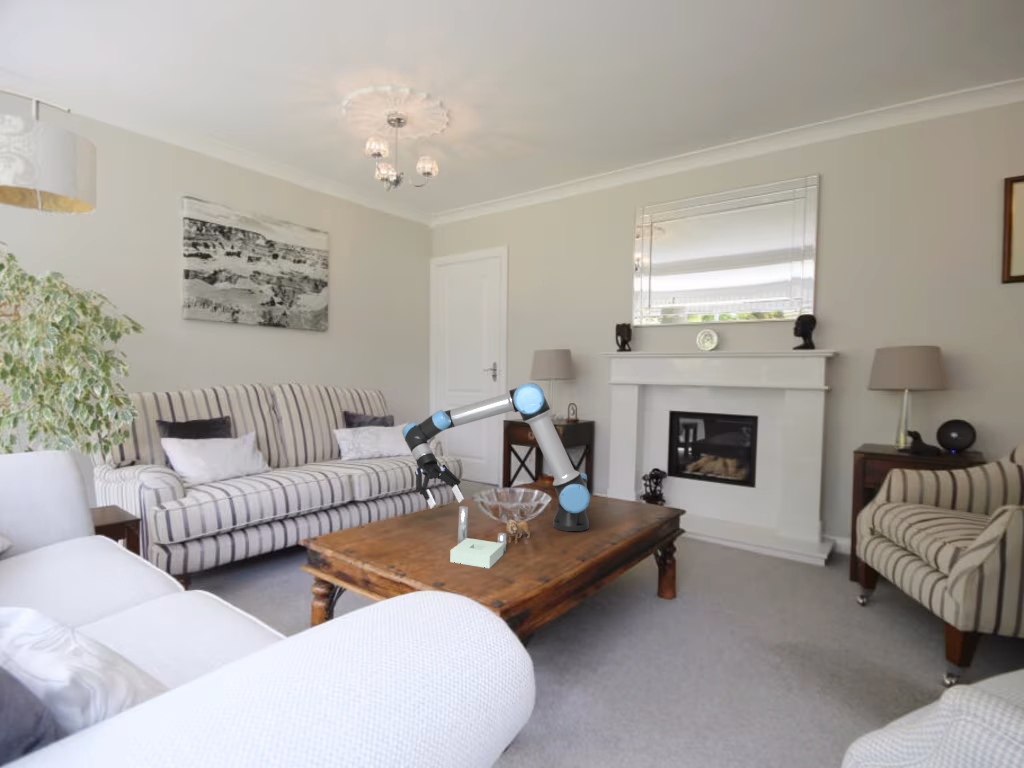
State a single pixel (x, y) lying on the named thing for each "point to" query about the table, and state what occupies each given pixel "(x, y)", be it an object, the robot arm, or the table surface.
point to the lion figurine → (517, 529)
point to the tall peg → (462, 523)
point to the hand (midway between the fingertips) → (447, 503)
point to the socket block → (476, 552)
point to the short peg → (502, 539)
